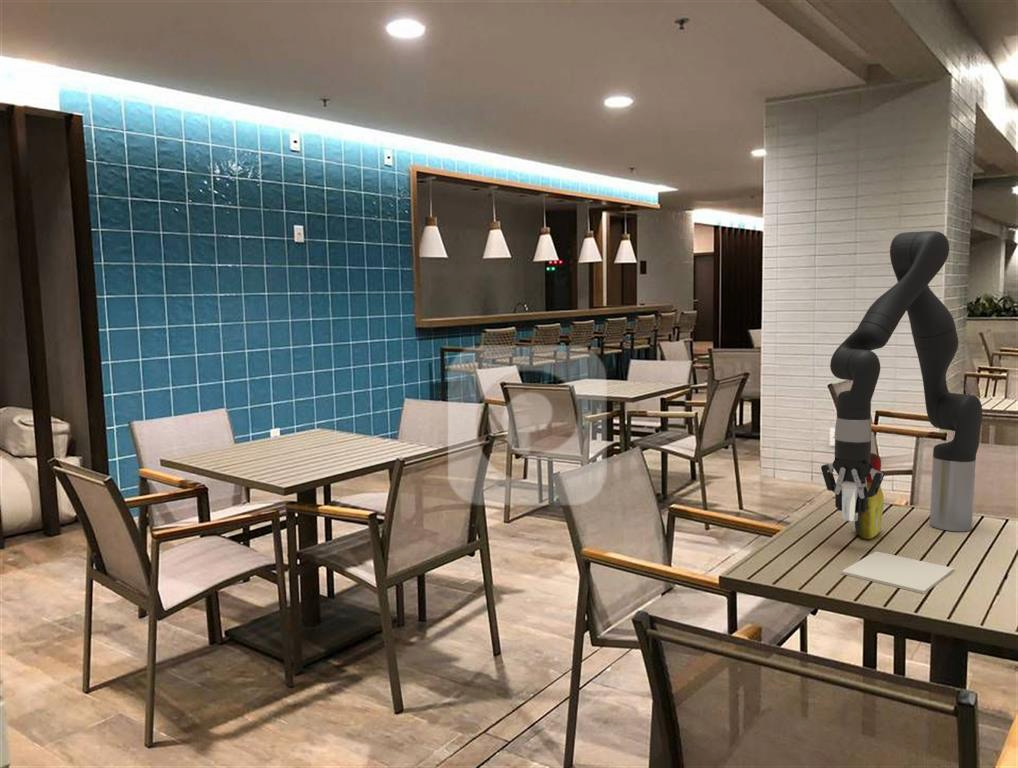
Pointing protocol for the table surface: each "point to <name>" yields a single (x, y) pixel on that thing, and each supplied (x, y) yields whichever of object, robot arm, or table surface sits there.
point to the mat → (899, 572)
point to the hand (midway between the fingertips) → (851, 511)
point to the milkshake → (849, 501)
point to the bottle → (871, 507)
